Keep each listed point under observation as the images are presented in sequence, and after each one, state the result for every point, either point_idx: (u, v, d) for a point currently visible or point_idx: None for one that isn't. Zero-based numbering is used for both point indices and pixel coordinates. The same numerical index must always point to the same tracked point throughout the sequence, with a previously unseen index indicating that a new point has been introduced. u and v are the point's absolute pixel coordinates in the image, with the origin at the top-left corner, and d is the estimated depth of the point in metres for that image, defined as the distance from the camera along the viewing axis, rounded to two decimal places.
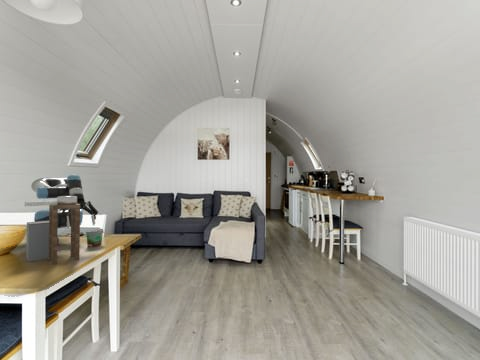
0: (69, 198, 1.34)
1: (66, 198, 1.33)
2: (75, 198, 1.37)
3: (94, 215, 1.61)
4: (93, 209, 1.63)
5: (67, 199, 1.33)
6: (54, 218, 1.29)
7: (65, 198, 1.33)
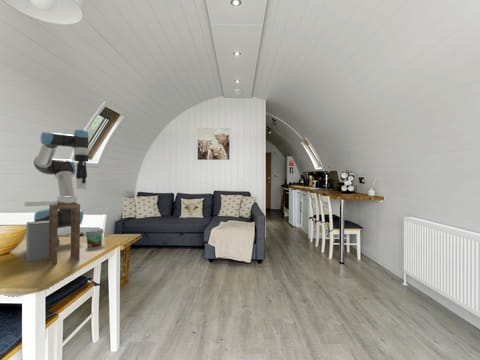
0: (69, 198, 1.34)
1: (66, 198, 1.33)
2: (75, 198, 1.37)
3: None
4: None
5: (67, 199, 1.33)
6: (54, 218, 1.29)
7: (65, 198, 1.33)
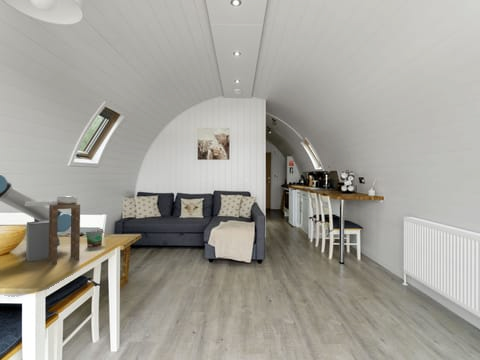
0: (69, 198, 1.34)
1: (66, 198, 1.33)
2: (75, 198, 1.37)
3: None
4: None
5: (67, 199, 1.33)
6: (54, 218, 1.29)
7: (65, 198, 1.33)
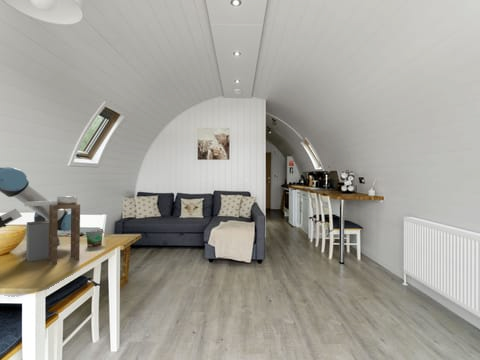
0: (69, 198, 1.34)
1: (66, 198, 1.33)
2: (75, 198, 1.37)
3: None
4: None
5: (67, 199, 1.33)
6: (54, 218, 1.29)
7: (65, 198, 1.33)
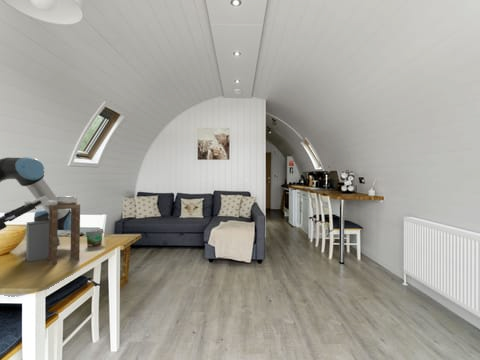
0: (69, 198, 1.34)
1: (66, 198, 1.33)
2: (75, 198, 1.37)
3: None
4: (21, 206, 1.26)
5: (67, 199, 1.33)
6: (54, 218, 1.29)
7: (65, 198, 1.33)
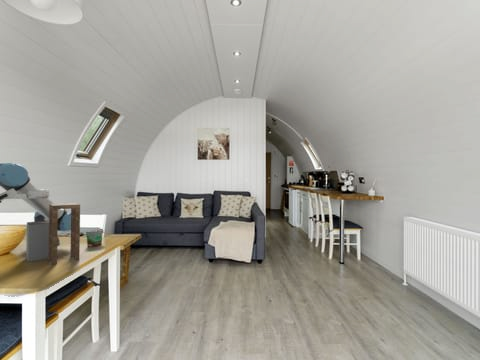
0: (39, 191, 1.25)
1: (36, 191, 1.25)
2: (46, 191, 1.29)
3: None
4: None
5: (37, 193, 1.25)
6: (54, 218, 1.29)
7: (35, 191, 1.24)
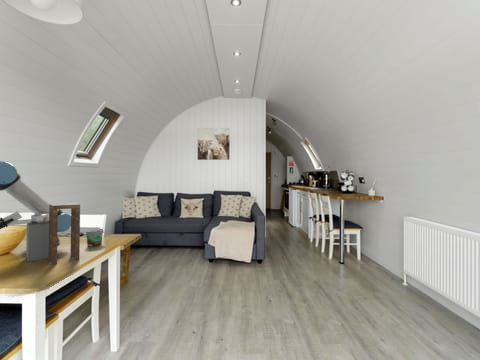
0: (43, 217, 1.36)
1: (40, 217, 1.36)
2: None
3: None
4: None
5: (41, 218, 1.36)
6: (54, 218, 1.29)
7: (39, 217, 1.35)
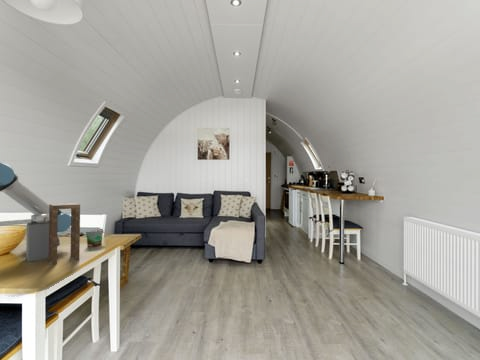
0: (43, 217, 1.36)
1: (40, 217, 1.36)
2: None
3: None
4: None
5: (41, 218, 1.36)
6: (54, 218, 1.29)
7: (39, 217, 1.35)
